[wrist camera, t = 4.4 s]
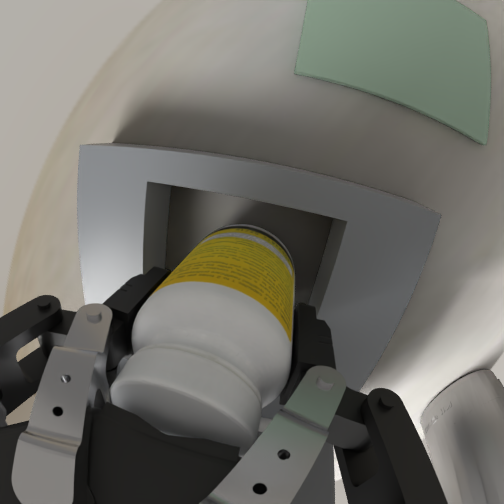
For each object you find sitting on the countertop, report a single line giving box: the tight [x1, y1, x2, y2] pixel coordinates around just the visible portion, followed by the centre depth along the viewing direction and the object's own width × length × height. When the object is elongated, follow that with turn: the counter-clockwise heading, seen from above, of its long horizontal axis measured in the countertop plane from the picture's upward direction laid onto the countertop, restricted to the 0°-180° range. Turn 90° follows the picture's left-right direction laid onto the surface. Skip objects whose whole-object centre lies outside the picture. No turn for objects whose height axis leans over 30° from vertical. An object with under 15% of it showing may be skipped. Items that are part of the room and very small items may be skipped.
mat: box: [294, 0, 491, 145], centre depth 9 cm, size 12×10×1 cm
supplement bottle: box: [109, 224, 295, 458], centre depth 10 cm, size 5×5×10 cm
